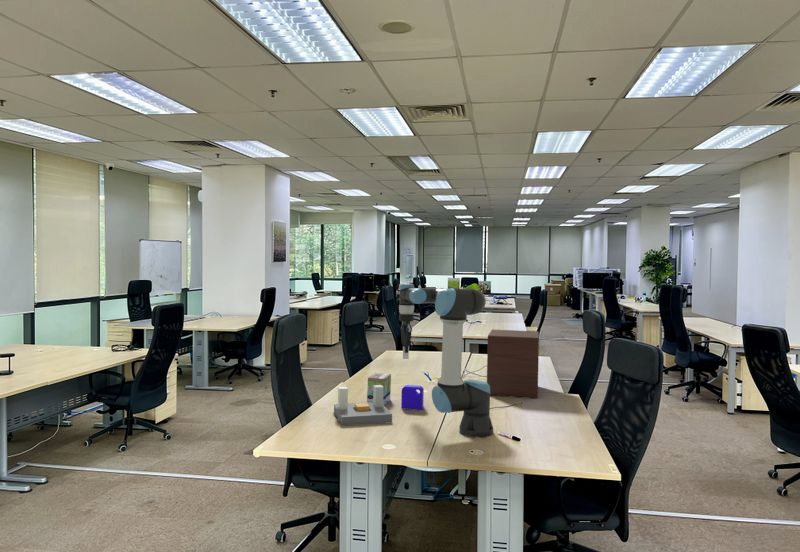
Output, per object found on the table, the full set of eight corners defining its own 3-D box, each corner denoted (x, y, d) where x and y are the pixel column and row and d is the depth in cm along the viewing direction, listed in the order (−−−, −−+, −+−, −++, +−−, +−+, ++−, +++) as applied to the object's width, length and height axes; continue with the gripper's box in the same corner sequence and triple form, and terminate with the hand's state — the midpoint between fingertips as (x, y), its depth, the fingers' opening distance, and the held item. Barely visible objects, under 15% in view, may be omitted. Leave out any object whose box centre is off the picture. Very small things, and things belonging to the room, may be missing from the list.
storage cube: (537, 399, 303) (538, 337, 303) (486, 395, 310) (487, 335, 310) (537, 386, 337) (538, 331, 337) (491, 383, 344) (492, 329, 344)
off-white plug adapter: (347, 409, 259) (347, 388, 259) (339, 409, 258) (339, 389, 258) (345, 406, 264) (346, 386, 264) (337, 406, 263) (338, 386, 262)
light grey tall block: (383, 407, 264) (383, 387, 264) (375, 407, 263) (375, 387, 263) (380, 404, 269) (381, 384, 268) (373, 405, 267) (373, 385, 267)
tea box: (384, 406, 281) (385, 378, 281) (366, 405, 283) (366, 377, 283) (390, 399, 296) (391, 373, 296) (373, 398, 298) (373, 372, 298)
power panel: (392, 422, 251) (392, 414, 251) (341, 425, 245) (341, 417, 244) (380, 409, 274) (380, 401, 274) (333, 412, 268) (334, 404, 268)
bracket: (421, 410, 275) (422, 387, 274) (401, 408, 277) (401, 386, 277) (427, 402, 292) (427, 380, 292) (407, 400, 294) (408, 379, 294)
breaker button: (369, 416, 257) (369, 406, 257) (357, 417, 256) (357, 406, 256) (366, 413, 263) (366, 403, 263) (354, 413, 261) (355, 403, 261)
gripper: (417, 314, 270) (416, 360, 270) (409, 312, 282) (408, 356, 283) (403, 314, 268) (402, 361, 268) (396, 312, 280) (395, 356, 281)
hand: (405, 358), depth 275 cm, fingers closed
